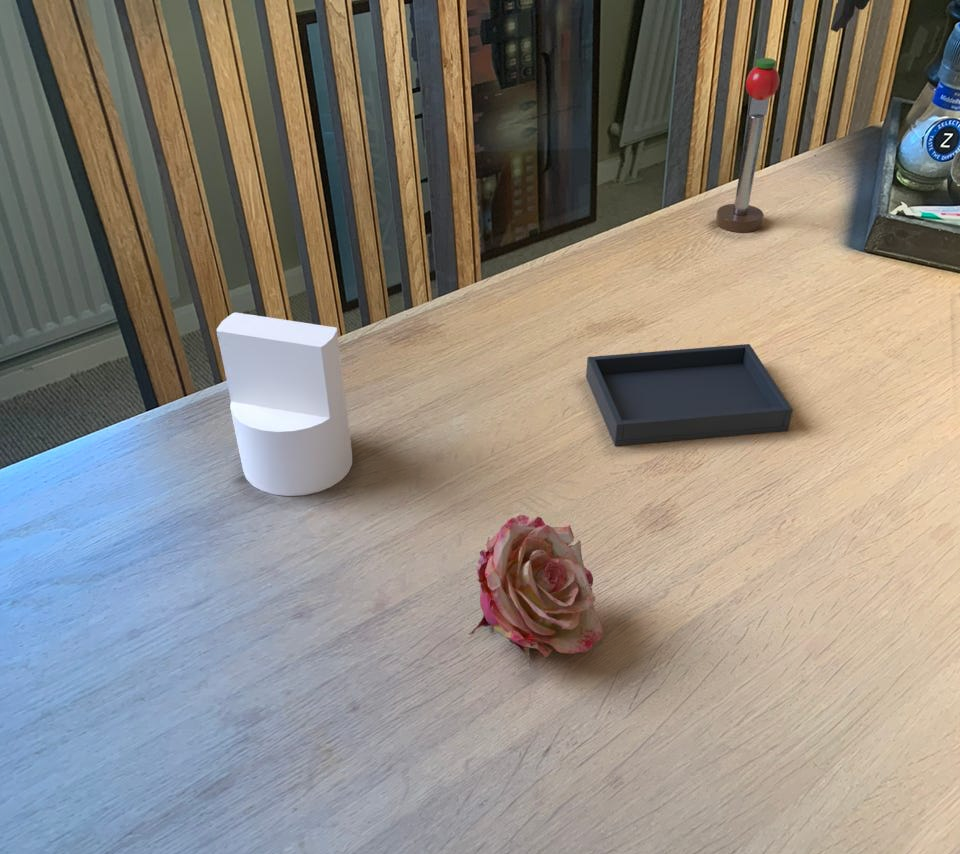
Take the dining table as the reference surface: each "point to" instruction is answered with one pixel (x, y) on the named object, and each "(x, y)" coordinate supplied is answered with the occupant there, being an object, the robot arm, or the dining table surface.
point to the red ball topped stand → (751, 149)
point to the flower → (537, 588)
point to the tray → (686, 394)
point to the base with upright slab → (286, 403)
